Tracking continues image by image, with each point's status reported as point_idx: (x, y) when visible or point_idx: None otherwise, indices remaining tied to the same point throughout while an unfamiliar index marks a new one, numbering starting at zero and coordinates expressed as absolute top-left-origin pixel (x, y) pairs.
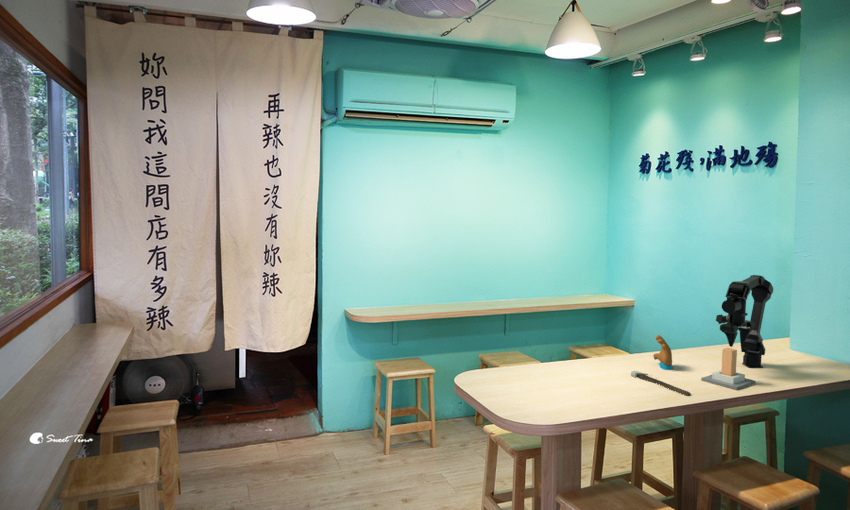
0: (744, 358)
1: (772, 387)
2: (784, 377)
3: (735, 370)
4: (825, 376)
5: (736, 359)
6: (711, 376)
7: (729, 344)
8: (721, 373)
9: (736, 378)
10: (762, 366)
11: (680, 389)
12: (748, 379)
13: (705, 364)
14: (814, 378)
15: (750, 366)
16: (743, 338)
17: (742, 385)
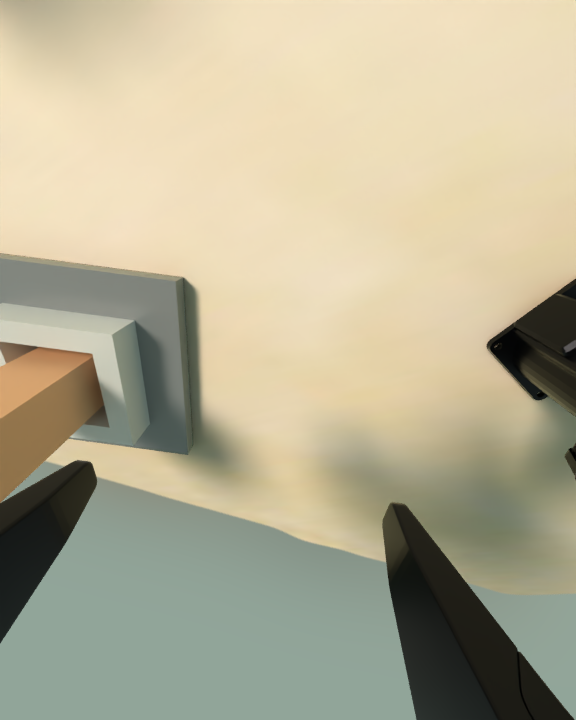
0: (572, 323)
1: (203, 492)
2: (394, 492)
3: (70, 429)
4: (518, 568)
5: (7, 493)
6: (29, 282)
7: (44, 484)
8: (19, 357)
9: None
10: (543, 397)
11: None
12: (179, 430)
13: (379, 20)
14: (458, 552)
15: (501, 350)
16: (408, 626)
17: (69, 438)
